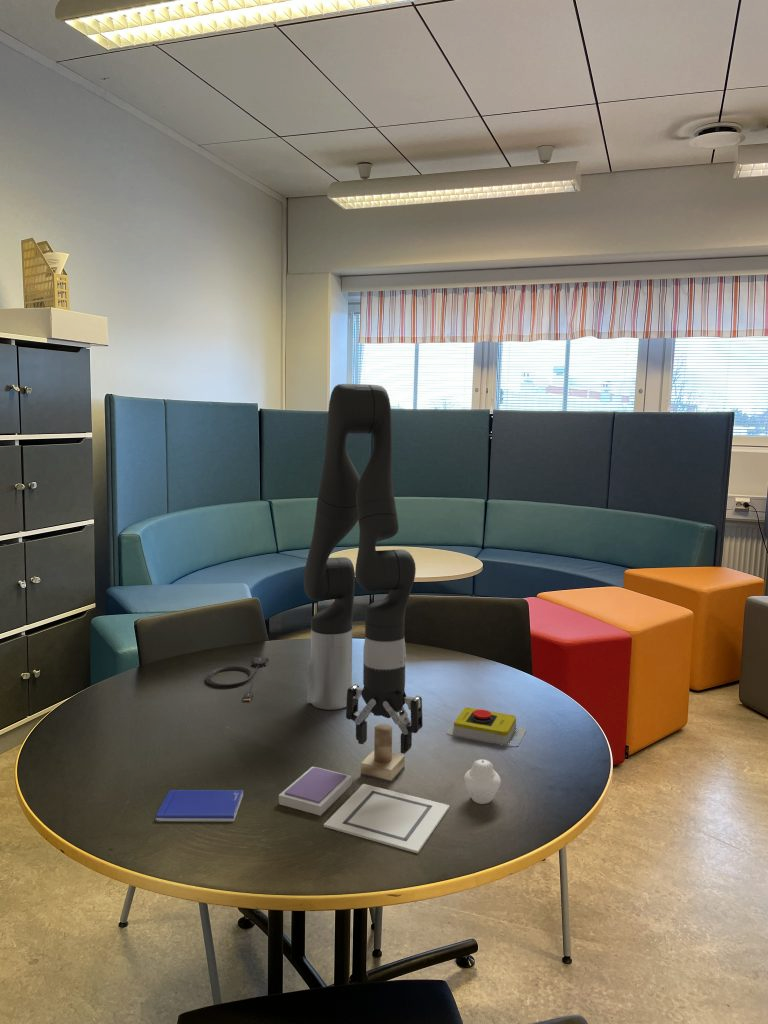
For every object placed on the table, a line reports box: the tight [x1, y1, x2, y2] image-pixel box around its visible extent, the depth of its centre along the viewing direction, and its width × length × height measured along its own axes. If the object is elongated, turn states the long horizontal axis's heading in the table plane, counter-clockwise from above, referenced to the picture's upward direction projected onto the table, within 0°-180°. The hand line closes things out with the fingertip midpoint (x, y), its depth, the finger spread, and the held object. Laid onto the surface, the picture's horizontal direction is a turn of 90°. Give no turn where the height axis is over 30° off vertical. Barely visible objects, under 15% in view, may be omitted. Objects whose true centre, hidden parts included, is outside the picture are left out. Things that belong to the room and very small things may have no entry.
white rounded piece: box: [463, 759, 502, 805], centre depth 120 cm, size 6×6×7 cm
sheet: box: [323, 783, 451, 854], centre depth 114 cm, size 16×14×1 cm
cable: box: [204, 656, 270, 703], centre depth 174 cm, size 14×28×2 cm, turn 1°
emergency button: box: [446, 707, 527, 747], centre depth 146 cm, size 9×4×15 cm
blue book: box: [155, 789, 244, 822], centre depth 117 cm, size 2×8×12 cm
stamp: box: [360, 723, 406, 784], centre depth 128 cm, size 6×6×9 cm
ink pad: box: [278, 766, 353, 816], centre depth 121 cm, size 8×11×2 cm
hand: (383, 747), depth 128 cm, fingers open, 8 cm apart
